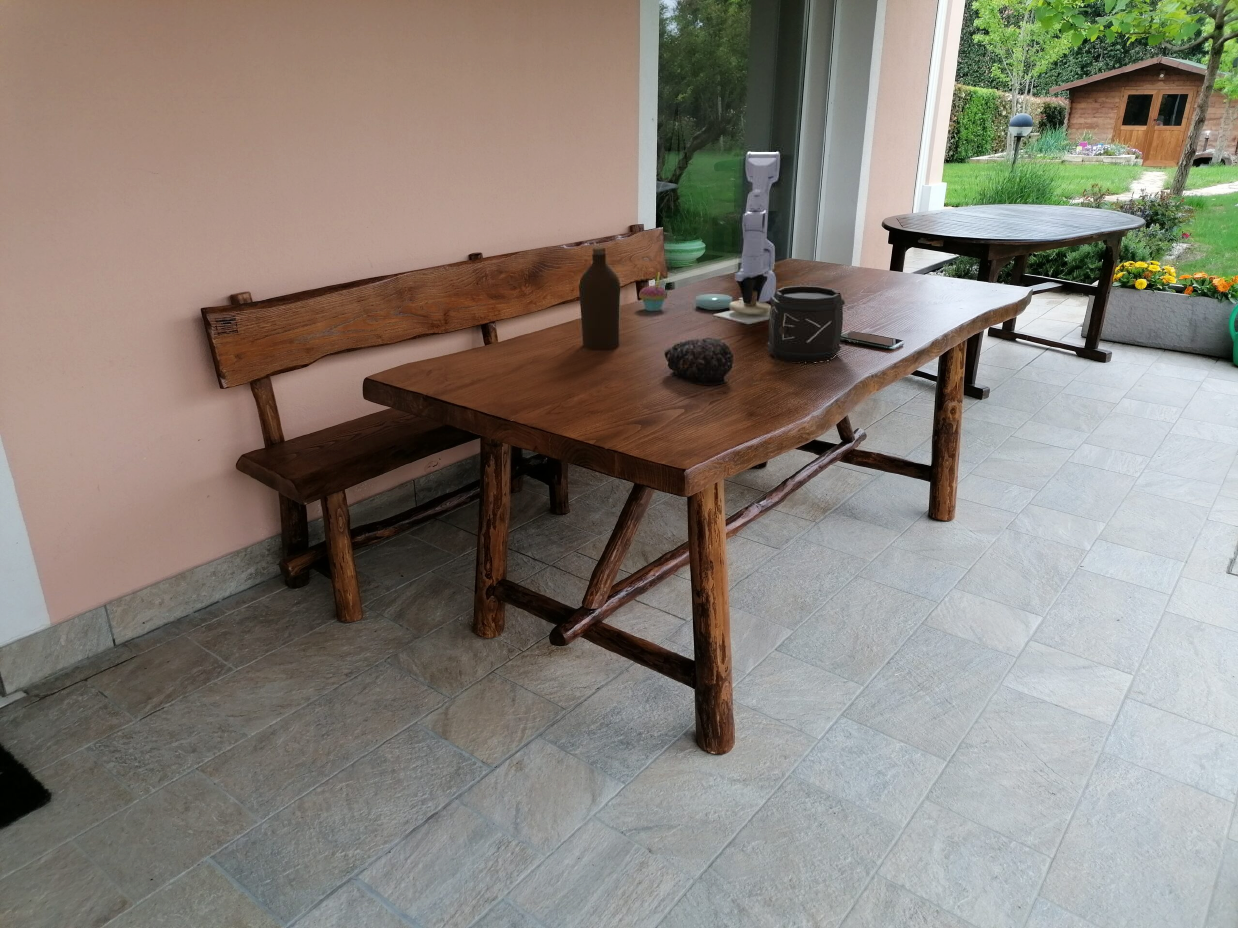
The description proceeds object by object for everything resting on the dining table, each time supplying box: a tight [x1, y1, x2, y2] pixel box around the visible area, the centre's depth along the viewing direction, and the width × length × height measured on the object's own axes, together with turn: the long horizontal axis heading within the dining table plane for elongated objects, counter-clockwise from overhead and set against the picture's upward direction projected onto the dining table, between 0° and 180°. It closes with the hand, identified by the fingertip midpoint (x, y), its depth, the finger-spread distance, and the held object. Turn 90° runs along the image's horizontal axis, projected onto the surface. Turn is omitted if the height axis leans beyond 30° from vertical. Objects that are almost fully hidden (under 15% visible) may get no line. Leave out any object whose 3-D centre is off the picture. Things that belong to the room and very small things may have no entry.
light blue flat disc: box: [695, 293, 733, 311], centre depth 270 cm, size 11×11×3 cm
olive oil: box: [578, 246, 622, 351], centre depth 226 cm, size 11×11×25 cm
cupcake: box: [638, 269, 668, 312], centre depth 267 cm, size 9×8×12 cm
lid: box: [728, 291, 771, 314], centre depth 259 cm, size 12×12×5 cm
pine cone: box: [664, 337, 734, 386], centre depth 202 cm, size 10×18×10 cm, turn 55°
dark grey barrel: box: [766, 285, 846, 364], centre depth 217 cm, size 18×18×16 cm
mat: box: [712, 309, 770, 325], centre depth 260 cm, size 17×14×1 cm
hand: (751, 302), depth 259 cm, fingers closed on lid, 3 cm apart
